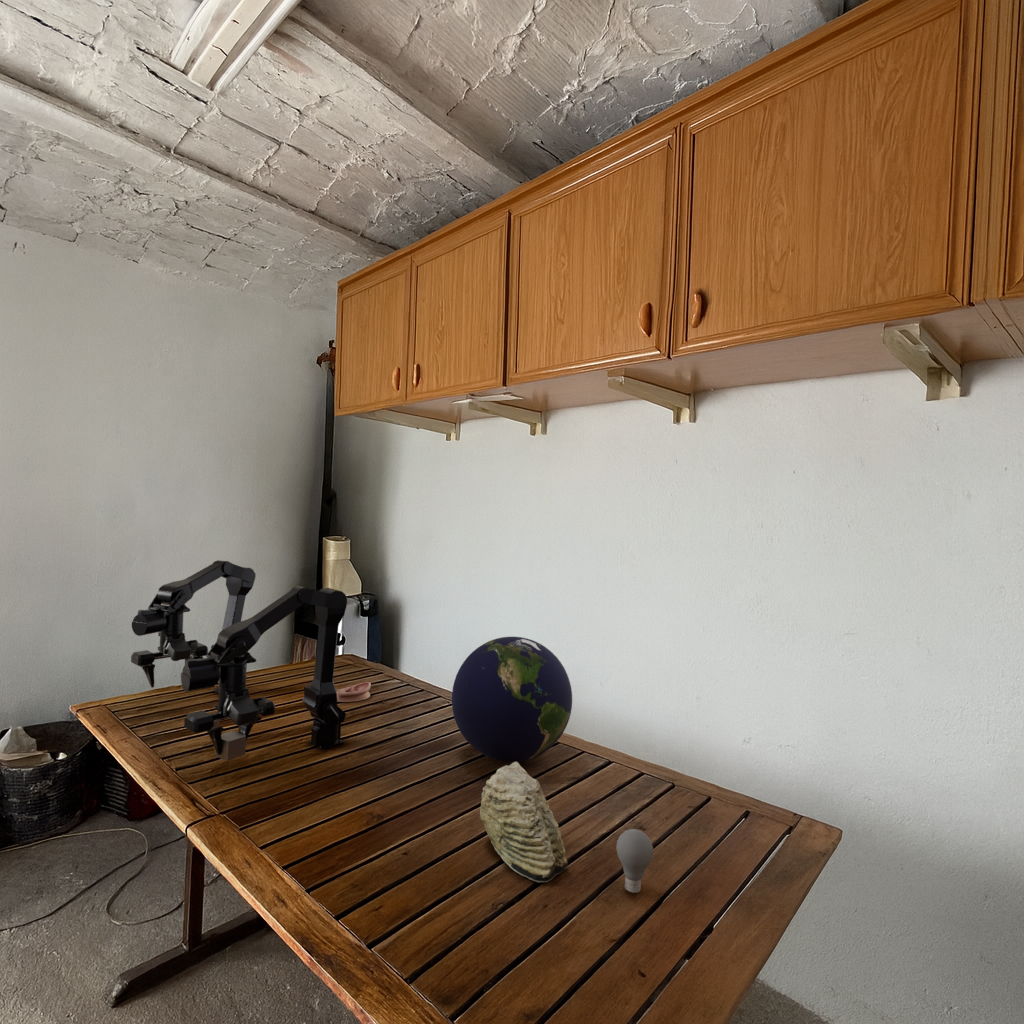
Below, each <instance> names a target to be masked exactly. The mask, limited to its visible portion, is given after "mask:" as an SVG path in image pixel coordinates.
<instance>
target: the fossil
mask: <svg viewBox="0 0 1024 1024" xmlns="http://www.w3.org/2000/svg"><path fill="white" fill-rule="evenodd" d="M479 819H480V820H481V822H482V823H483V827H484V829H485V832H486V833H487V836H488V838H489V840H490V842H491V844H492V845H493V848H494V850H495V852H496V853H497V854H498V856H500V858H501V859H502V861H503V862H504V863H505V864H506V865H507V867H509V868H510V869H511V870H513V871H514V873H517V874H519V875H520V876H522V877H525V878H527V879H528V880H531V881H533V882H536V883H548V882H550V881H552V880H553V879H554V878H555V877H556V876H557V875H560V874H561V873H563V872H564V871H565V870H566V868H567V867H568V866H569V863H568V859H567V856H566V848H565V847H564V841H563V838H562V834H561V831H560V826H559V824H558V822H557V821H556V818H555V817H554V813H553V811H552V810H551V807H550V805H549V803H548V802H547V799H546V796H545V794H544V790H543V789H542V786H541V784H540V781H539V780H537V779H535V778H533V777H532V776H531V775H529V773H528V772H527V771H526V769H524V768H523V766H521V764H520V762H511V763H510V764H509V765H507V764H506V765H504V766H502V767H500V768H498V769H497V770H496V772H495V773H494V774H492V775H491V776H490V778H489V779H487V780H486V782H485V786H483V788H482V792H481V802H480V808H479Z"/></svg>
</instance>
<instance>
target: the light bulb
mask: <svg viewBox="0 0 1024 1024" xmlns="http://www.w3.org/2000/svg"><path fill="white" fill-rule="evenodd" d="M615 849H616V854H617V857H618V859H619V861H620V863H621V865H622V867H623V873H624V874H623V875H624V876H625V878H624V888H625V890H627V891H628V892H630V893H634V894H635V893H639V892H640V891H641V889H642V887H641V886H642V879H643V877H644V875H645V871H646V868H647V867H648V866H649V864H650V863H651V861H652V859H653V855H654V847H653V843H652V841H651V838H649V836H648V835H647V834H646V833H645V832H643V831H642V830H641V829H636V828H629V829H627V830H625V831H623V832H622V833H621V834H620V835H619V837H618V839H617V841H616V847H615Z"/></svg>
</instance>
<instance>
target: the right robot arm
mask: <svg viewBox="0 0 1024 1024" xmlns="http://www.w3.org/2000/svg"><path fill="white" fill-rule="evenodd" d="M305 604H307V605H311V606H314V608H315V609H314V611H315V615H316V618H317V621H318V630H317V631H318V632H317V641H316V642H317V643H316V649H315V650H316V652H315V662H314V671H313V672H314V673H313V679H312V681H311V683H310V685H304V688H303V698H302V700H301V702H302V703H304V708H305V710H307V711H308V712H309V714H310V716H311V717H312V718H314V719H313V721H312V722H313V723H312V727H311V730H310V731H311V732H310V733H311V735H310V739H309V740H308V743H309V744H310V745H313V746H314V747H316V748H318V749H320V750H327V749H329V748H333V747H336V746H340V745H343V744H344V743H345V741H344V740H343V739H341V737H342V735H341V733H342V723H344V722H345V720H346V716H347V712H346V711H344V710H343V709H342V708H341V707H340V706H339V705H338V702H337V692H336V691H337V690H336V686H335V683H334V675H335V665H336V653H337V644H338V643H337V642H338V633H339V625H340V623H341V621H342V620H343V618H344V617H345V614H346V610H347V607H348V596H347V594H345V592H344V591H342V590H338V589H335V588H331V587H323V588H321V589H315V588H310V587H306V586H301V585H295V586H294V587H292V588H291V589H290V590H289V591H288V592H286V593H285V594H283V595H281V597H279V598H277V599H276V600H275V601H273V602H271V603H270V604H269V605H268V606H266V607H264V608H263V609H262V610H260V611H259V612H257V613H256V614H255V615H253V616H252V617H249V618H247V619H244V620H241V622H238V623H235V624H233V625H231V626H229V627H227V628H225V629H223V630H222V629H221V630H220V631H219V633H218V634H217V638H216V642H215V643H214V644H213V645H214V646H213V647H212V648H211V647H210V649H209V650H208V654H207V655H206V656H205V657H203V658H201V659H188V660H186V661H185V660H184V665H183V668H182V670H181V673H180V682H181V687H182V690H183V691H184V692H185V693H188V692H194V691H200V690H207V689H212V688H214V687H215V686H216V687H215V690H216V692H218V693H217V694H218V695H217V697H218V698H217V704H215V711H217V712H213V713H208V712H207V711H205V710H199V711H195V712H191V713H187V715H186V716H185V718H184V720H183V721H184V722H183V726H184V728H186V729H187V730H189V731H190V732H192V733H195V734H199V733H203V732H206V733H207V734H208V736H209V737H210V741H211V743H212V745H213V747H214V750H216V752H217V754H218V755H221V749H222V743H221V734H223V731H224V729H225V728H224V727H222V726H221V721H225V720H229V719H232V721H233V723H234V724H235V725H236V726H238V733H241V734H244V735H246V741H247V740H248V738H249V735H250V733H251V730H252V729H253V726H254V725H255V724H256V723H258V722H259V721H262V719H263V718H262V717H267V716H271V715H274V714H275V713H276V705H275V702H273V701H272V700H270V699H268V698H266V697H264V696H258V697H253V698H252V697H251V696H250V689H249V688H248V687H247V666H248V665H247V664H253V663H256V662H257V659H256V658H255V657H254V656H252V654H251V653H250V652H249V651H250V650H251V649H252V648H253V647H254V646H255V645H256V644H258V641H259V640H260V638H261V637H262V636H263V635H264V634H265V633H266V632H267V631H268V630H270V629H271V628H273V627H274V626H275V625H277V624H278V623H280V622H281V621H283V620H284V619H285V618H287V617H288V616H290V615H291V614H292V613H294V612H295V611H296V610H298V609H300V608H301V607H302V606H304V605H305ZM222 652H225V653H224V654H221V653H222ZM217 685H218V686H217ZM216 692H215V693H216ZM260 715H261V716H262V717H261V716H260Z"/></svg>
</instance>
